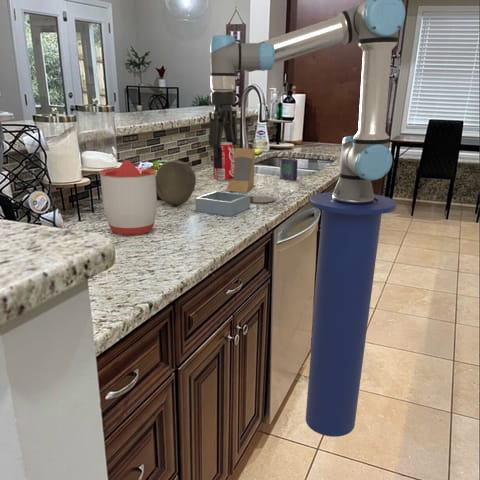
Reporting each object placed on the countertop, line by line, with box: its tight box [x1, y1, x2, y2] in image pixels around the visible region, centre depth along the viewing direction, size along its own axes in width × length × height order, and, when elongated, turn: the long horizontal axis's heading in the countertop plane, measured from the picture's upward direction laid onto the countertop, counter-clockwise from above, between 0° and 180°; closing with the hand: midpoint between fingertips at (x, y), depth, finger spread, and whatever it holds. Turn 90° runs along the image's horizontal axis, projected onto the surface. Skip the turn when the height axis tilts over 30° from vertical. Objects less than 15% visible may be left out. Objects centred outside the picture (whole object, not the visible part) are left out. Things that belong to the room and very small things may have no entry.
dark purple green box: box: [279, 154, 299, 182], centre depth 225 cm, size 9×3×11 cm, turn 46°
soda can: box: [212, 141, 235, 183], centre depth 165 cm, size 7×7×12 cm
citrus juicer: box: [98, 159, 158, 236], centre depth 143 cm, size 16×17×20 cm
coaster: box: [250, 195, 275, 204], centre depth 186 cm, size 11×11×1 cm
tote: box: [194, 190, 251, 217], centre depth 170 cm, size 14×14×4 cm
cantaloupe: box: [155, 160, 197, 207], centre depth 174 cm, size 14×14×15 cm
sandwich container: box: [226, 147, 256, 193], centre depth 203 cm, size 9×15×15 cm, turn 168°
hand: (223, 166), depth 165 cm, fingers closed on soda can, 7 cm apart
